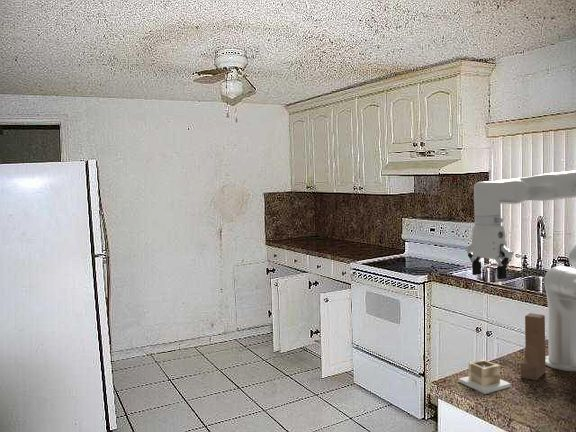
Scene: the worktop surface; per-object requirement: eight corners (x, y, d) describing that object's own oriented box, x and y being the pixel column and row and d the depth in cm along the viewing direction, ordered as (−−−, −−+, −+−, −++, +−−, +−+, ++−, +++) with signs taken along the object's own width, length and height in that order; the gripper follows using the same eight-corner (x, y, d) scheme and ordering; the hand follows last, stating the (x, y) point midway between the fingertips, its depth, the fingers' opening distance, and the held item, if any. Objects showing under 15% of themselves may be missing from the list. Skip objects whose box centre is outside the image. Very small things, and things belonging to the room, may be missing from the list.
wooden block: (536, 381, 142) (535, 321, 141) (520, 377, 145) (519, 318, 145) (545, 372, 149) (545, 314, 148) (530, 369, 152) (529, 312, 151)
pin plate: (483, 375, 148) (483, 357, 148) (510, 386, 139) (510, 368, 139) (458, 381, 144) (458, 363, 144) (484, 393, 135) (484, 374, 135)
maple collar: (483, 375, 145) (483, 359, 145) (499, 382, 140) (499, 365, 140) (468, 379, 143) (468, 362, 143) (484, 386, 137) (484, 369, 137)
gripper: (520, 221, 142) (521, 279, 143) (475, 219, 158) (476, 271, 159) (502, 223, 139) (503, 282, 140) (457, 221, 155) (459, 274, 155)
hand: (489, 276), depth 149 cm, fingers open, 9 cm apart
